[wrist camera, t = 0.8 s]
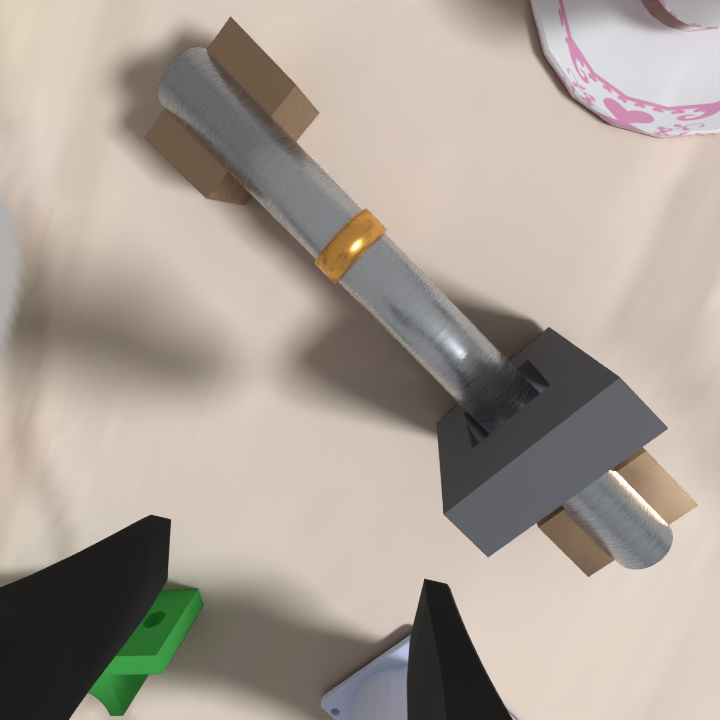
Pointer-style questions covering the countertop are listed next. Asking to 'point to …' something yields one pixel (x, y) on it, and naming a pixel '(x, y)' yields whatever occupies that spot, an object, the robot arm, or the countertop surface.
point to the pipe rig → (383, 276)
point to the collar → (539, 444)
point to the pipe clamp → (147, 649)
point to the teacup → (637, 62)
